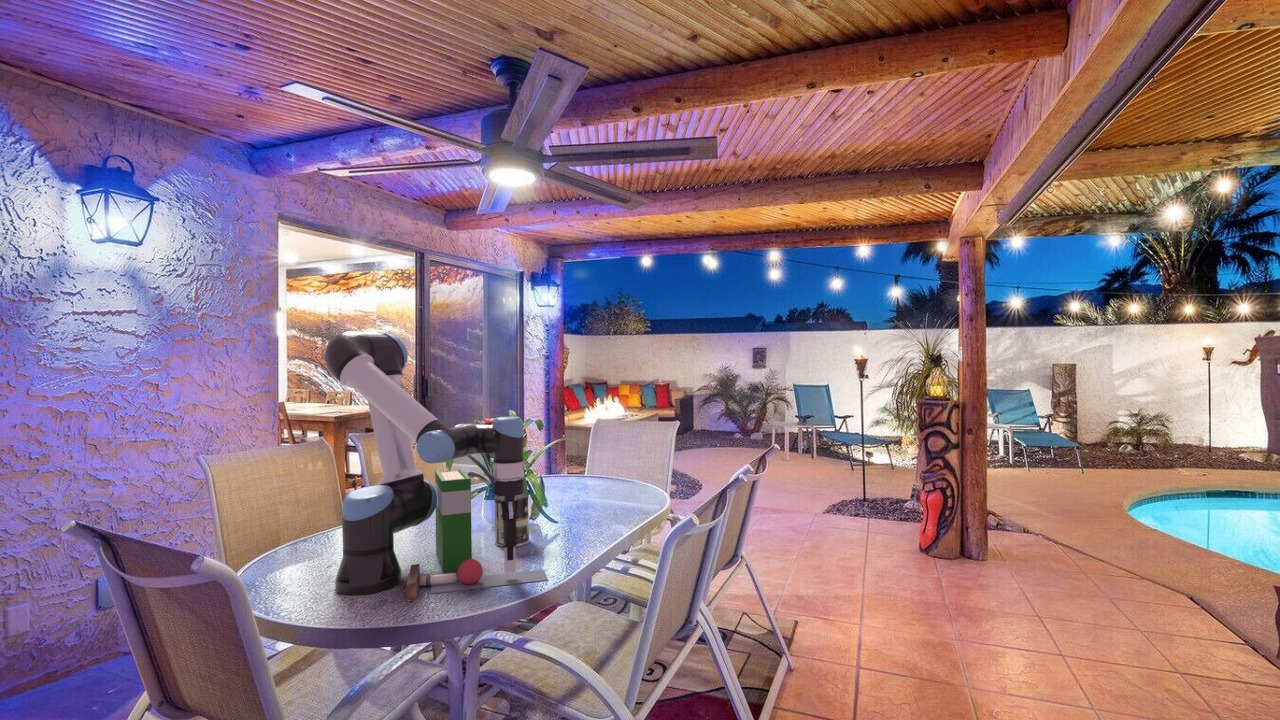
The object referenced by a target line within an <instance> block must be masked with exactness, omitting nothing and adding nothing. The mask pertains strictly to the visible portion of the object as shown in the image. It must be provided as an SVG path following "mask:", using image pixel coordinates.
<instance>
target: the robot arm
mask: <svg viewBox="0 0 1280 720" xmlns="http://www.w3.org/2000/svg"><path fill="white" fill-rule="evenodd" d="M408 356H409V355H408V350H407V347H406V345H405V344H404V342H403V341H402V340H401V339H400V338H399V337H398V336H395V335H394V334H390V333H385V332H380V331H377V332H369V331H367V332H366V331H353V330H351V331H349V330H348V331H344V332H341V333H338V334H337V335H335V336H333V337H332V338H331V339H330V340H329V341H328V343H327V345H326V347H325V351H324V361H325V365H326V367H327V369H328V370H329V372H330V373H331V375H332V376H333V377H334V378H335V379H336V380H337V381H338V382H340V383H341V384H342V385H343V386H345V387H352V388H353V389H354V390H355V391H357V392H358V393H359V394H360V396H362V397H363V398H364V399H366V400H367V404H368V408H369V414H370V418H371V425H372V428H373V434H374V438H375V439H374V440H375V443H376V448H377V453H378V459H379V464H380V467H381V468H380V470H381V474H382V477H381V478H380V480H379V481H378V483H377V485H369V486H368V487H367V486H365V487H361V488H357V489H355V490H353V491H350V492H349V493H348V494H346V495H345V496H344V498H343V500H342V508H341V521H342V522H341V524H342V526H341V527H342V528H341V529H342V533H341V534H342V558H341V561H340V565H339V567H338V570H337V574H336V576H335V579H334V580H335V582H334V583H335V585H334V586H335V588H336V589H335V591H336V590H337V591H338V592H337V591H336V592H337V593H339V592H340V593H339V594H342V593H345V594H344V595H349V594H360V595H369V594H374V593H378V592H382V591H386V590H388V589H392V588H393V587H395V586H397V585H398V584H400V582H401V581H402V575H403V574H402V573H403V572H402V569H401V566H400V563H399V561H398V557H397V555H396V552H395V547H394V544H395V543H394V542H395V541H394V539H395V538H394V534H396V533H399V532H401V531H405V530H407V529H409V528H411V527H416V526H418V525H421V524H422V523H424V522H425V521H427V520H429V519H430V518H431V517H432V516H433V514H434V513H435V512H436V505H437V494H436V491H435V487H434V485H433V484H431V482H430V481H428V480H427V479H425V476H424V472H422V470H420V469H418V468H417V467H416V462H415V456H414V452H413V447H412V442H411V439H412V441H414V443H415V444H416V452H417V453H418V456H419V458H420V459H421V461H423V462H424V463H426V464H439V463H440V464H441V463H445V462H448V461H451V460H454V459H460V458H464V457H468V456H471V455H492V456H493V458H492V459H493V465H492V467H493V468H492V469H493V470H492V471H493V475H492V476H493V478H494V480H493V494H494V495H495V496H504V501H501V507H502V517H503V528H504V537H503V539H504V545H502V547H501V548H502V549H503V557H504V558H503V560H504V563H503V564H504V565H503V566H504V568H503V569H504V574H506V573H515V572H516V569H517V568H516V567H517V565H516V547H515V546H516V543H517V540H516V519H517V509H518V502H517V500H515V498H514V496H516V495H520V494H522V493H524V492H525V479H524V478H523V477H524V476H525V470H524V469H525V468H527V464H526V463H525V461H524V459H525V458H524V437H525V432H524V424H523V423H524V422H523V420H522V419H523V418H521V417H519V416H499V417H495V418H493V420H492V424H481V423H479V424H476V423H468V422H467V423H460V424H456V425H454V427H450V428H449V427H448V426H447V425H445V424H444V423H443V422H442V421H441V420H439V419H438V418H437V417H436V416H434V415H433V413H431V412H430V411H429V410H428V409H427V408H425V407H424V406H423V405H422V404H421V403H420V402H419V401H417V399H415V398H414V397H413V396H411V394H409V393H408V392H407V391H406V390H404V389H403V388H402V387H401V386H400V382H401V381H402V379H403V377H404V374H403V371H404V369H405V368H406V367H407V365H406V363H408V359H409V358H408Z"/></svg>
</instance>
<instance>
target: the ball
mask: <svg viewBox="0 0 1280 720" xmlns="http://www.w3.org/2000/svg"><path fill="white" fill-rule="evenodd" d="M483 569H484V568H483V566H482V563H480V561H478V560H476V559H473V558H472V559H469V560H466V561H464V562H463V563H462V564H461V565H460V566H459V568H458V570H457V577H458V578H457V579H459V580H460V581H461V582H462V583H464V584H467V585H472V584H475V583H476V582H478V581H479V580H480V578H481V576H483V574H484V573H483V571H484V570H483Z"/></svg>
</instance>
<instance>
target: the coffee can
mask: <svg viewBox="0 0 1280 720" xmlns="http://www.w3.org/2000/svg"><path fill="white" fill-rule="evenodd" d="M529 496H530V495H529V494H527V493H524V492H523V493H522V494H520V495H516V496H514V498H515V500H517V502H518V509H517V519H516V540H517V543H516V546H515V548H516V547H521V546H525V545H527V544H528V543H529V542H530V532H529V531H530V530H529V529H530V527H529V520H530V519H529ZM493 501H494V531H495V532H494V535H495V536H494V538H495V539H494V541H495V542H494V544H495V546H498V547H501V548H502V545H504V539H503V537H504V528H503V517H502V507H501V501H504V496H497V495H495V496H494V497H493Z"/></svg>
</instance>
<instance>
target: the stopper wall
mask: <svg viewBox="0 0 1280 720" xmlns="http://www.w3.org/2000/svg"><path fill="white" fill-rule="evenodd" d="M420 567H421V565H420V564H419V563H416V564H411V565H410V568H409V573H408V577H407V581H406V602H409V601H408V600H414V601H417V598H418V593H417V592H418V591H419V587H420V576H421V571H420V570H421V568H420ZM416 597H417V598H416Z"/></svg>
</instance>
